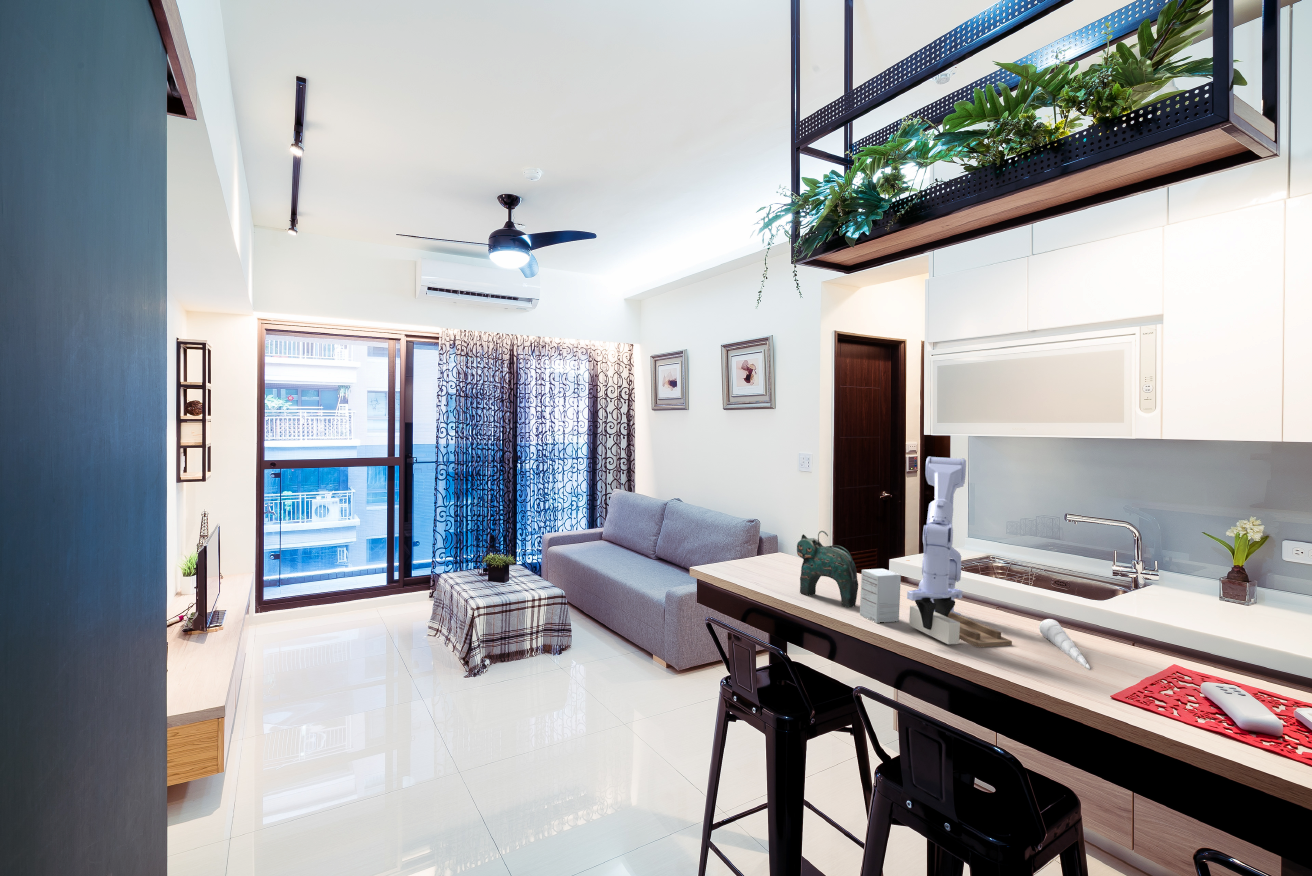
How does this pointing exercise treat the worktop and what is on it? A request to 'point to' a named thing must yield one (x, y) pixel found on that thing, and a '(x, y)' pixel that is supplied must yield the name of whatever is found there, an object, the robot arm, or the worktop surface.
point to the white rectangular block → (936, 626)
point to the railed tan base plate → (978, 633)
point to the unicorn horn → (1061, 640)
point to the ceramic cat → (827, 568)
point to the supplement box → (880, 595)
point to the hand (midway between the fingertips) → (933, 627)
